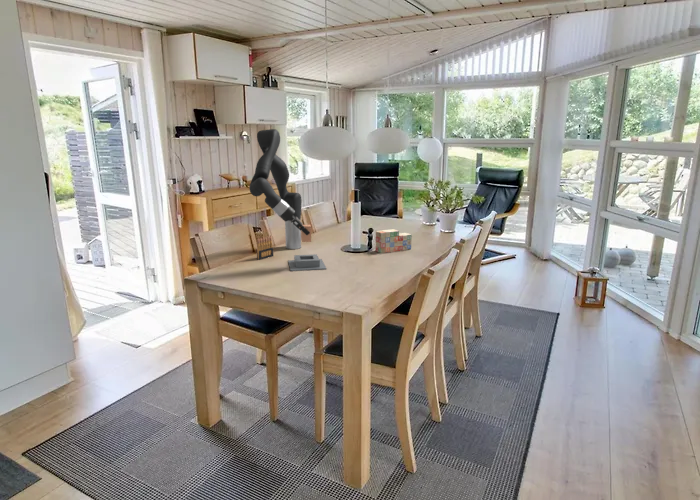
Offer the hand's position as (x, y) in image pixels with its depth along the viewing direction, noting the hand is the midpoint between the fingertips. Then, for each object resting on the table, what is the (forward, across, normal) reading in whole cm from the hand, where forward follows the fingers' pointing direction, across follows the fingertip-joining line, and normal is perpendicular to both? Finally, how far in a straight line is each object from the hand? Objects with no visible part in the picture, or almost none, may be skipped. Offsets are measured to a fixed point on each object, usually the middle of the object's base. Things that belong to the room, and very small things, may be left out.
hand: (307, 232), depth 226 cm
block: (+2, 0, +4) cm, 4 cm away
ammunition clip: (-3, +19, +28) cm, 34 cm away
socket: (+12, 0, +13) cm, 17 cm away
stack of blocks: (+50, +24, -25) cm, 61 cm away
